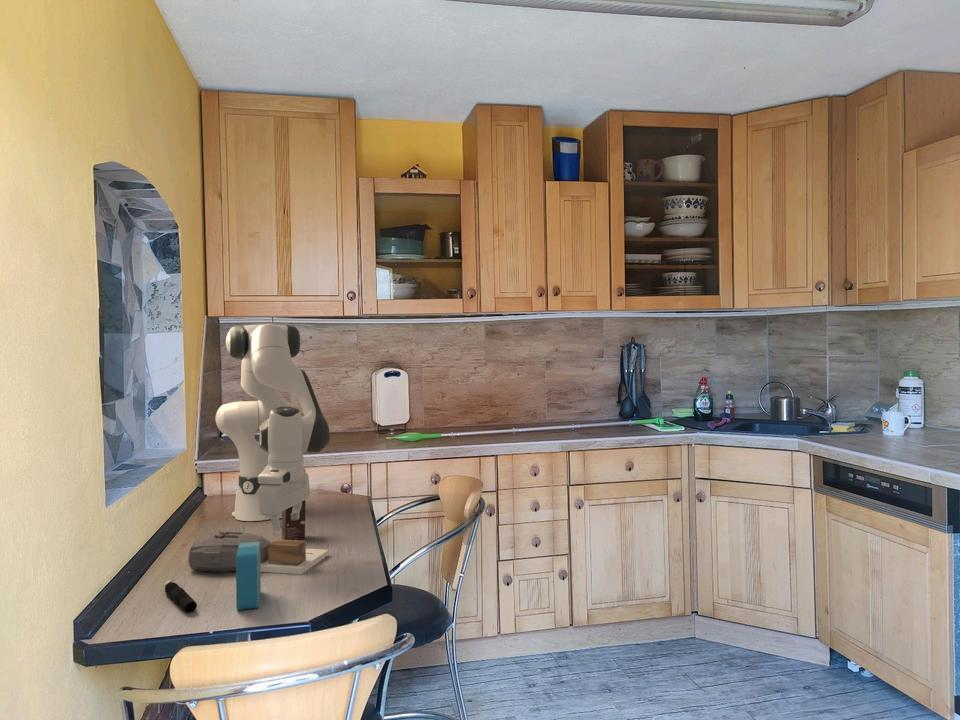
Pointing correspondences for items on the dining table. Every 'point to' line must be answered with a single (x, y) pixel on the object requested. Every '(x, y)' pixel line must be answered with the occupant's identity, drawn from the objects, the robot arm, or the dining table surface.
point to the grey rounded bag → (223, 551)
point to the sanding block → (287, 552)
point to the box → (293, 524)
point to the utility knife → (180, 596)
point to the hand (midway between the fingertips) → (286, 524)
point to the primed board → (311, 559)
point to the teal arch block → (248, 576)
